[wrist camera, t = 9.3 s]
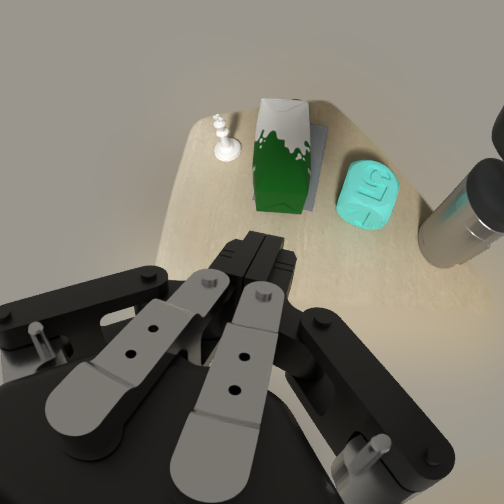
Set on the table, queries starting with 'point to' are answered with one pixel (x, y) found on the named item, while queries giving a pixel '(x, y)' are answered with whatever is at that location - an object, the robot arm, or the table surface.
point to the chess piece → (225, 142)
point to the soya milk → (282, 156)
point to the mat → (314, 162)
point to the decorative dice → (368, 194)
